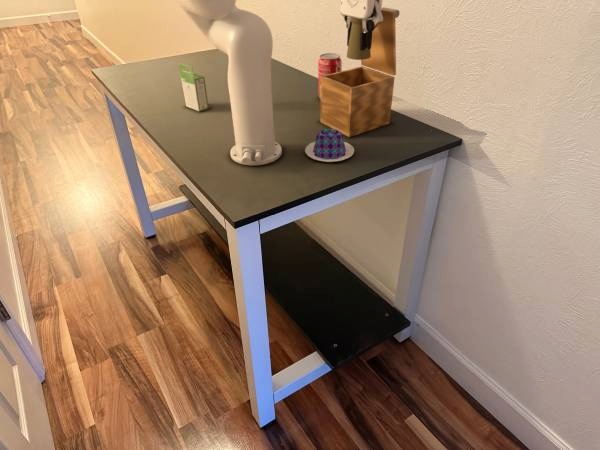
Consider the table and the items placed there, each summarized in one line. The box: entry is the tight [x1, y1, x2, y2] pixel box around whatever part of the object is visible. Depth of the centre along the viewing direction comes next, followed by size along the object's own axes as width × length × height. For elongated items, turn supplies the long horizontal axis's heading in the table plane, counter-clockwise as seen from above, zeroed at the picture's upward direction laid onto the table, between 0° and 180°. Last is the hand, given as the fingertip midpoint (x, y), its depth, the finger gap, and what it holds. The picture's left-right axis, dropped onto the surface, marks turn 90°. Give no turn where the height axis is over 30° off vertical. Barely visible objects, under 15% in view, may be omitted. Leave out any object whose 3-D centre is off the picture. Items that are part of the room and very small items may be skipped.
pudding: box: [304, 128, 355, 163], centre depth 101 cm, size 12×12×5 cm
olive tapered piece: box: [346, 16, 371, 61], centre depth 101 cm, size 6×6×11 cm
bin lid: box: [360, 6, 400, 77], centre depth 108 cm, size 15×13×6 cm
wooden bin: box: [319, 65, 395, 138], centre depth 113 cm, size 15×13×13 cm
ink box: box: [177, 62, 210, 112], centre depth 125 cm, size 7×4×13 cm, turn 47°
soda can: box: [317, 52, 343, 100], centre depth 129 cm, size 7×7×13 cm
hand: (358, 46), depth 103 cm, fingers closed on olive tapered piece, 4 cm apart
